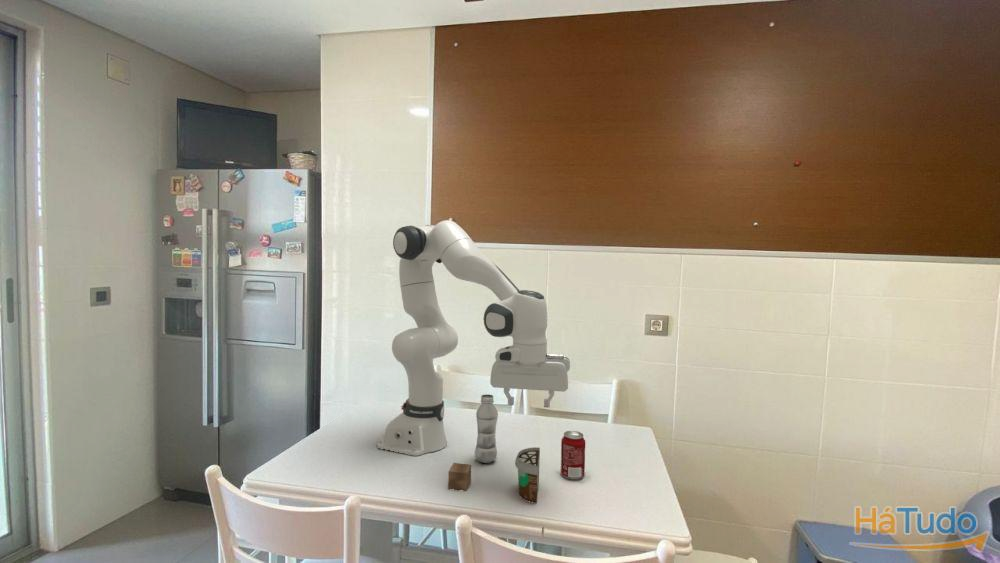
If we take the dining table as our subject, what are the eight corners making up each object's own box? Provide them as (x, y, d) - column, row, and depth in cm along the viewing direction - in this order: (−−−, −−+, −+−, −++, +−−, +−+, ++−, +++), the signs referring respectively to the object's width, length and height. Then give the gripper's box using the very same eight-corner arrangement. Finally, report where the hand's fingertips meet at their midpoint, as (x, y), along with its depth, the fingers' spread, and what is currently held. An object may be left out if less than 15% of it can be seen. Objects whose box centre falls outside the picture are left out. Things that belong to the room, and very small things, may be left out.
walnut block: (448, 489, 119) (448, 471, 118) (453, 480, 124) (453, 462, 123) (466, 491, 118) (467, 473, 118) (470, 482, 123) (471, 464, 122)
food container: (516, 480, 124) (517, 444, 124) (539, 482, 123) (539, 446, 123) (511, 504, 112) (512, 464, 112) (536, 506, 111) (537, 466, 111)
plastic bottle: (475, 456, 139) (476, 392, 138) (497, 456, 139) (498, 393, 138) (473, 465, 133) (475, 399, 132) (496, 466, 132) (497, 399, 132)
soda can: (584, 482, 124) (585, 440, 123) (559, 479, 125) (560, 437, 124) (584, 471, 130) (585, 431, 130) (561, 468, 132) (562, 428, 131)
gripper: (570, 352, 118) (569, 404, 118) (493, 349, 121) (493, 399, 121) (570, 357, 111) (568, 412, 112) (489, 353, 115) (488, 406, 115)
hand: (528, 405), depth 117 cm, fingers open, 8 cm apart
